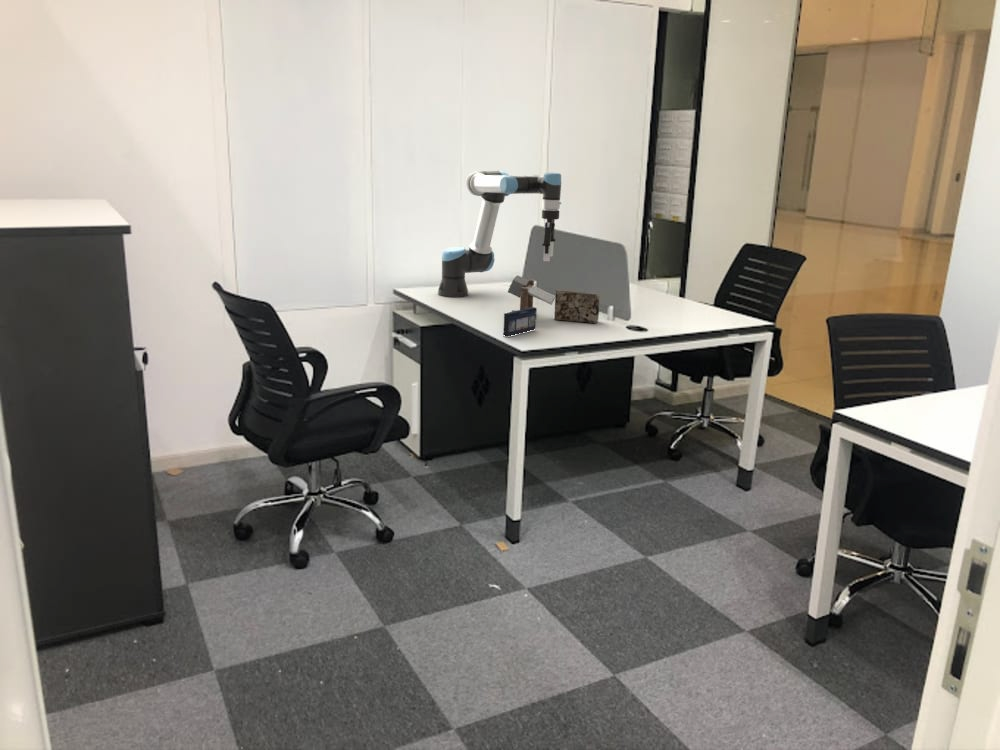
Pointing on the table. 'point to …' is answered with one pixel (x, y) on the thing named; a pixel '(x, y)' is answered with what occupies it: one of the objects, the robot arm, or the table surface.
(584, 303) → the stone block
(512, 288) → the trapdoor plate
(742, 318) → the table surface
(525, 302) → the trapdoor stand
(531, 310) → the vhs cassette tape
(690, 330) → the table surface
